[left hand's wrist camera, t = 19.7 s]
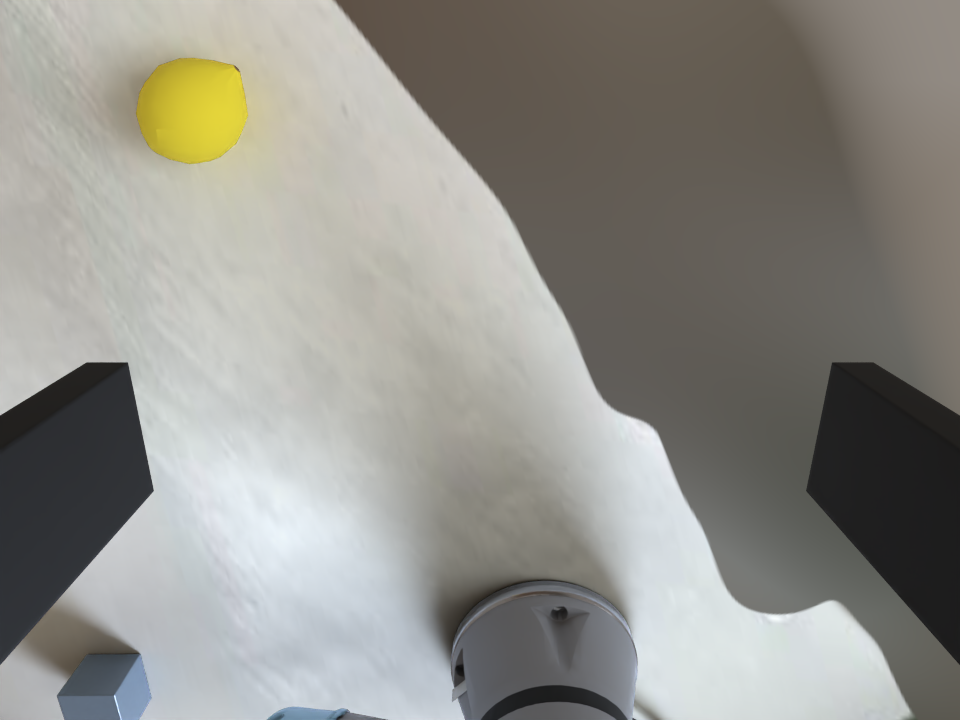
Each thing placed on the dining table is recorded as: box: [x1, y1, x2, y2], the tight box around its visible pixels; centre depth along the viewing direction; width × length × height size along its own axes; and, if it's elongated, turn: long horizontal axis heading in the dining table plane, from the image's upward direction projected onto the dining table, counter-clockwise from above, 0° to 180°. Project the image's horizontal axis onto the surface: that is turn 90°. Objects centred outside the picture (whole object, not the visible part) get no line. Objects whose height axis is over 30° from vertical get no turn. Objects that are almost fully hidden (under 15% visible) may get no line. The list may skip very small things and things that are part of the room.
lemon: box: [136, 58, 248, 164], centre depth 37 cm, size 7×5×5 cm
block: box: [57, 654, 151, 720], centre depth 54 cm, size 5×5×4 cm
